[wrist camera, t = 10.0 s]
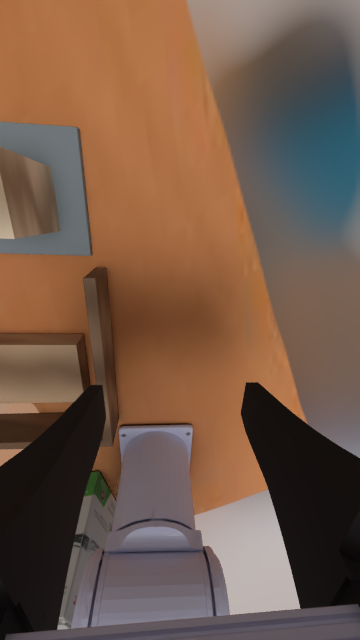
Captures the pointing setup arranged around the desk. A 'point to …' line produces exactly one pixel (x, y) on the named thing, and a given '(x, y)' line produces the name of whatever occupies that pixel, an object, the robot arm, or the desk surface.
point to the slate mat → (69, 185)
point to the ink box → (87, 540)
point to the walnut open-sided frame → (58, 370)
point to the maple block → (26, 197)
